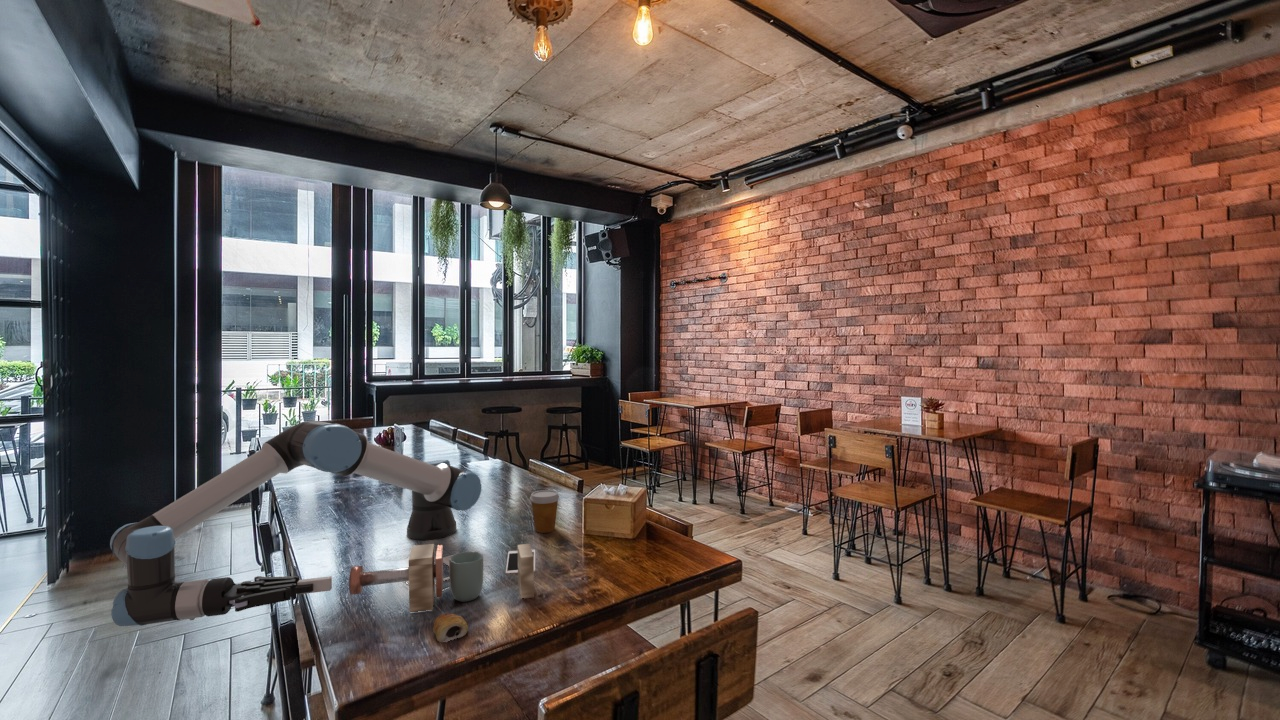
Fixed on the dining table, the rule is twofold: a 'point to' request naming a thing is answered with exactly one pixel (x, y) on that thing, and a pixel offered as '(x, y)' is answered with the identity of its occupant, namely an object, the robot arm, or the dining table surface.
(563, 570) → the dining table surface
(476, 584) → the cup
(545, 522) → the disposable coffee cup
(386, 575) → the shaft
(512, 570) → the cell phone
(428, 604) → the bearing block
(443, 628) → the pastry
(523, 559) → the end block
